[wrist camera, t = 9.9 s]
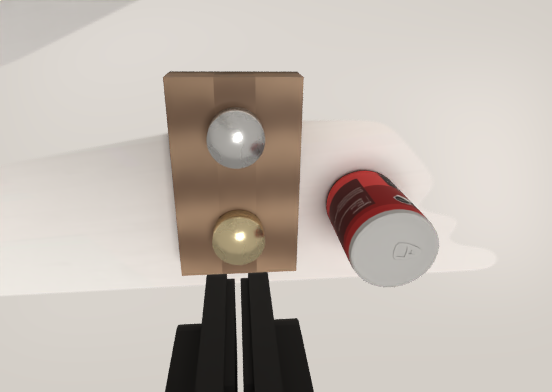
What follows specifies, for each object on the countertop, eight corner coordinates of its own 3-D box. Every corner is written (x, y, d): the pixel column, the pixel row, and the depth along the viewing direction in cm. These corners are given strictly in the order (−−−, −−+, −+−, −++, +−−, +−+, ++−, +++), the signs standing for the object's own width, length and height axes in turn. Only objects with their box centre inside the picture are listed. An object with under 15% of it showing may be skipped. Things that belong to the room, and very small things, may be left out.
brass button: (213, 194, 43) (210, 220, 38) (261, 193, 44) (264, 218, 38) (216, 235, 45) (213, 266, 40) (261, 234, 46) (265, 263, 40)
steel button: (208, 99, 39) (204, 112, 34) (260, 98, 40) (265, 111, 34) (211, 149, 41) (208, 169, 36) (261, 148, 42) (265, 168, 36)
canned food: (395, 223, 47) (439, 279, 37) (328, 236, 47) (353, 295, 37) (393, 161, 44) (440, 204, 34) (320, 175, 44) (346, 221, 34)
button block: (169, 71, 38) (162, 77, 34) (297, 71, 39) (303, 77, 35) (186, 255, 46) (181, 275, 42) (291, 251, 47) (296, 270, 43)
